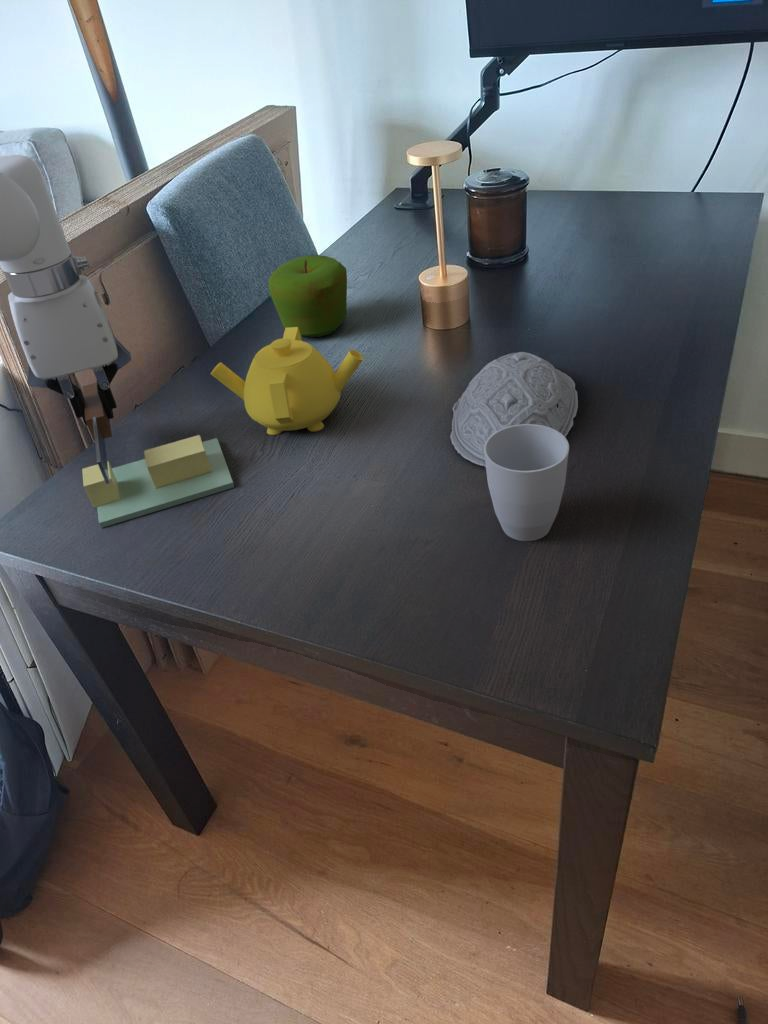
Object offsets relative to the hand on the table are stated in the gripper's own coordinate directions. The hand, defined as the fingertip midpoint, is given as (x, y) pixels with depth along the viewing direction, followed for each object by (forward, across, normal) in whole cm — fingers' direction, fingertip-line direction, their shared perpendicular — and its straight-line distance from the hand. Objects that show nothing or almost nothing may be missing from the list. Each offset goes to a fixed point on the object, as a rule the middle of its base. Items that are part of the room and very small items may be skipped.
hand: (98, 416), depth 97 cm
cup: (+6, -40, +38) cm, 56 cm away
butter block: (+5, -8, +10) cm, 14 cm away
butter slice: (+5, +2, +10) cm, 12 cm away
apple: (+5, -34, -21) cm, 41 cm away
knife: (+1, 0, +5) cm, 5 cm away
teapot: (+6, -24, +4) cm, 25 cm away
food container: (+6, -49, +18) cm, 53 cm away
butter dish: (+6, -5, +10) cm, 13 cm away
